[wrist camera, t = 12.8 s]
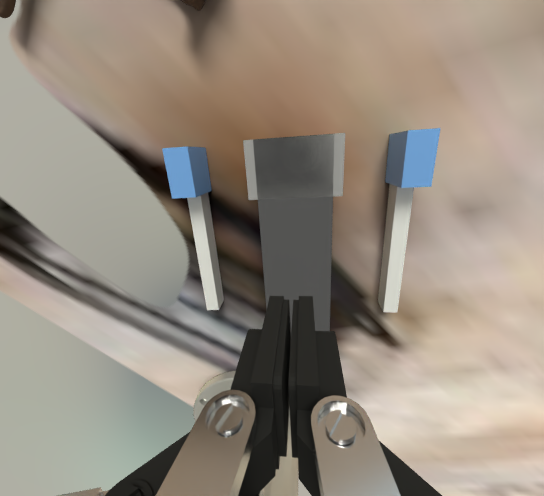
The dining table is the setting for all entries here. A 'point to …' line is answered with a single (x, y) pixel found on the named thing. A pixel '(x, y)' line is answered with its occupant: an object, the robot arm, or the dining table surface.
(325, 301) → the dark grey rectangular block
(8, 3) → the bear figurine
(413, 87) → the dining table surface
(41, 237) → the dining table surface
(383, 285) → the white blue-tipped sticks
